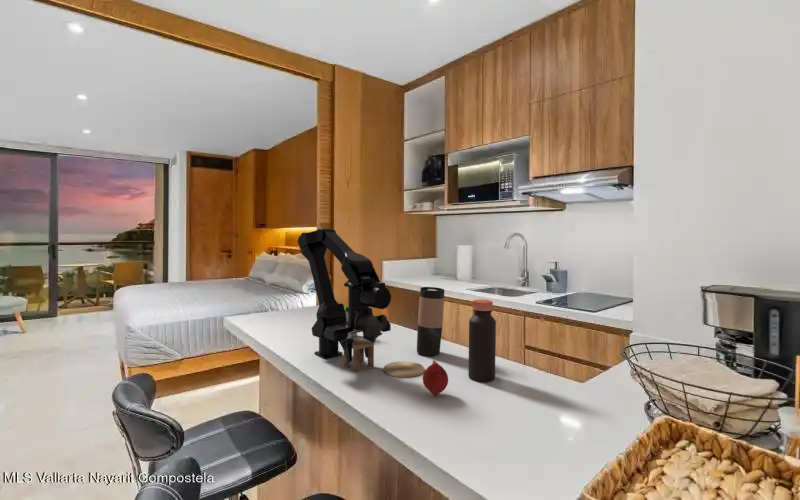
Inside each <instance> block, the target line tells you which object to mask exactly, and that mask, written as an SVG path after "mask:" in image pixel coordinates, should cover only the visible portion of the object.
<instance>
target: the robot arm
mask: <svg viewBox="0 0 800 500" xmlns="http://www.w3.org/2000/svg"><path fill="white" fill-rule="evenodd" d="M297 244H298V248H299V249H300V252H301V255H302V256H303V257H304V258H305V259H306V260H307V261H308V264H309V267H310V272H311V275H312V281H313V283H314V288H315V291H316V295H317V300H318V308H317V312H316V316H315V317H316V321H315V323H313V326H312V327H311V333H312V336H313V337H317V338H318V350H317V351H314V355H316V356H318V357H320V358H323V359H328V358H332V357H333V358H334V357H337V356H342V355H344V352H345V355H346V357H347V359H348V361H349V362H350V363H351V362H352V361H353V349H352V343H353V341H354V338H353V337H352V338H351V334H353V333H357V334H358V333H362V338H363V339H366V340H369V341H372V342H374V343H375V341H376V339H378V338H379V337H380V336H382V335H383V333H384V332H385V333H386V332H390V331H391V330H392V327H391V323H390V321H389V319H388V316H387V315H385V314H379V315H374V314H373V313H374V312H373V309H374V308H375V309H379V310H384V309H386V308H387V307H388V306H389V305H390V304H391V300H392V294H391V292H390V290H389V288H387V287H386V282H381V280H380V278H379V275H378V274H377V272H376V270H375V267H374V265H373V261H371V259H369V258H368V257H367V256H365V255H364V254H361V253H358V252H356V251H354V250H353V249H352V248H351V247H350V246H349V245H348V244H347V243H346V242H345V241H344V240H343V239H342V238H341V237H340V236H339V235H338V233H337V232H336V230H335V228H321V227H320V228H318V229H315V230H313V231H309V232H302V233H301V234H300V235H299V236H298V237H297ZM327 250H328V251H329V252H331V254H332V255H333V256H334V257H335V258H336V259H337V261H339V263H340V264H341V267H340V268H341V271H342V272H343V274H344V277H345V278H346V279H348V280H346V282H344V284H343V286H344V287H346V288H348V291H347V292H348V295H347V296H348V298H347V301H348V303H347V304H348V305H347V306H348V307H346V311H348V321H347V318H346V316H347V315H346V313H345V310H344V306H345V305H344V304H343V303H339V302H338V301H337V300H336V297H335V294H334V290H333V286H332V281H331V279H330V273H329V270H328V266H327V262H326V258H325V255H326V252H327ZM346 325H347V326H348V327H346ZM345 327H346V328H345ZM353 329H356V330H353ZM339 344H340V346H341V347H342V350H343V352H342V351H340V350H339ZM364 358H367V359H368V347H367V348H364ZM352 363H353V362H352Z"/></svg>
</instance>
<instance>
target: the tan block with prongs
mask: <svg viewBox="0 0 800 500" xmlns="http://www.w3.org/2000/svg"><path fill="white" fill-rule="evenodd" d="M353 339H354V338H353ZM367 347H368V358H367V368H368V369H372V368H375V367H374V366H375V365H374V364H375V360H374V359H375V350H374V349H375V342H372V341H369V340H366V339H363V337H359V338H355V339H354V341H353V343H352V361H353V362H352V370H353V372H355V373H357V372H360V365H361V364H364V363H365V351H364V348H367ZM350 366H351V362H349V361H348V359H347V357H346V355H345V352H344V351H343V367H345V368H349V367H350Z"/></svg>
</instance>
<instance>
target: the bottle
mask: <svg viewBox="0 0 800 500" xmlns="http://www.w3.org/2000/svg"><path fill="white" fill-rule="evenodd" d="M493 303H494V302H493V301H492V300H489V299H474V300H473V301H472V312H473V315H472V316H471V317H470V319H469V321H468V368H467V370H468V377H469V379H471V380H472V381H474V382H479V383H488V382H493V381H494V380H495V378H496V345H497V343H496V340H497V339H496V336H497V335H496V334H497V333H496V332H497V320H496V319H495V318H494V316H493V315H492V312H493V308H494V307H493Z"/></svg>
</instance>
